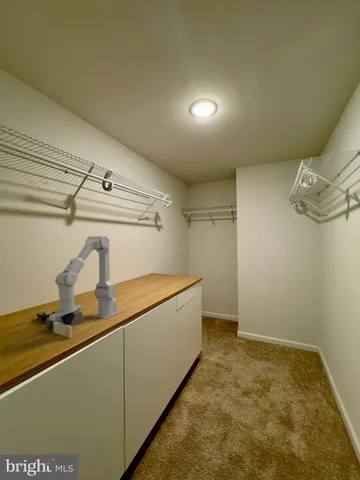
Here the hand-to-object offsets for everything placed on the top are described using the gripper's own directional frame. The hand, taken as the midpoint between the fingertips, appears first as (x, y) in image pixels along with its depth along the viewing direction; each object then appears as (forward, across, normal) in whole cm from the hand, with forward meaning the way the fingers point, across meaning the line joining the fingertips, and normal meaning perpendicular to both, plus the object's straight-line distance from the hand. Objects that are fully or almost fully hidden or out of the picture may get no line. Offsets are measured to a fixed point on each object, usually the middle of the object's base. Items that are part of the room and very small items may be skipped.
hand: (67, 330), depth 87 cm
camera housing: (+2, -7, -11) cm, 13 cm away
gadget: (+2, -8, -27) cm, 28 cm away
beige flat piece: (+1, +2, -2) cm, 3 cm away
